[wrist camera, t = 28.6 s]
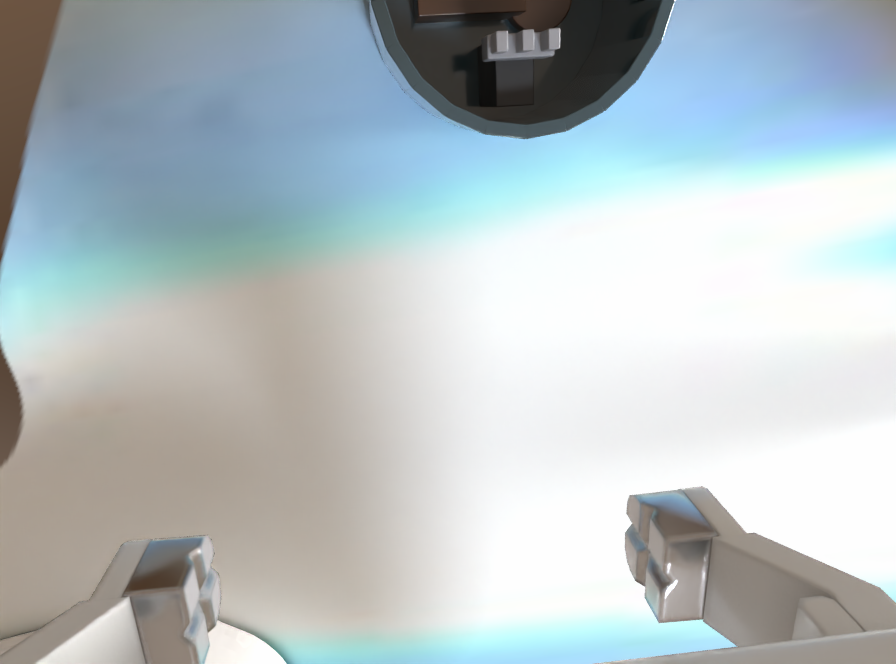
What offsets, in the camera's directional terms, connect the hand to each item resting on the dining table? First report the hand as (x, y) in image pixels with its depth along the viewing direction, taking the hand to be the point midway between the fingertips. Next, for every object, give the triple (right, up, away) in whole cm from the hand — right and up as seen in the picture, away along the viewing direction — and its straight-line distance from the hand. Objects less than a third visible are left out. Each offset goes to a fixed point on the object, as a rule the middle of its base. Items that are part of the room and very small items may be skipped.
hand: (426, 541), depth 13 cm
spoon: (+3, +21, +21) cm, 30 cm away
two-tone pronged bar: (+3, +18, +18) cm, 26 cm away
